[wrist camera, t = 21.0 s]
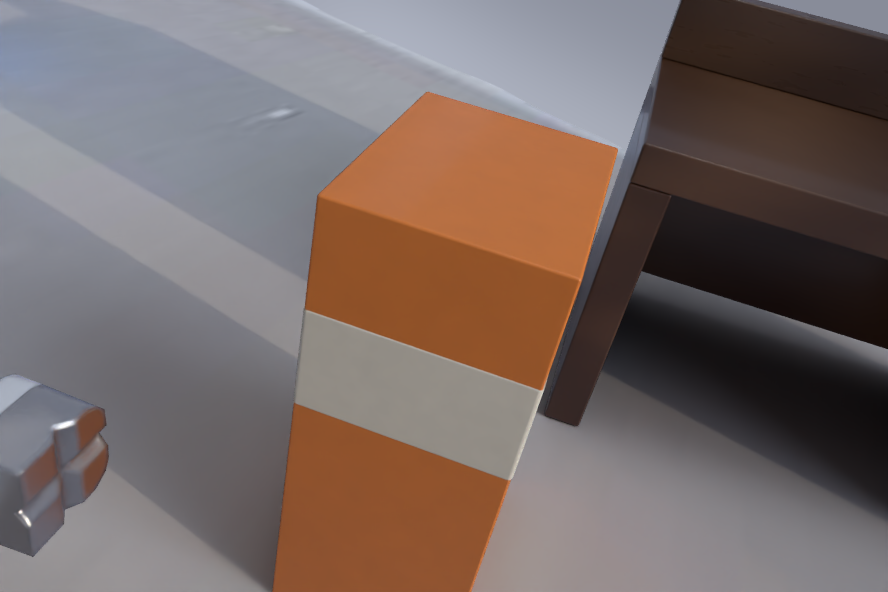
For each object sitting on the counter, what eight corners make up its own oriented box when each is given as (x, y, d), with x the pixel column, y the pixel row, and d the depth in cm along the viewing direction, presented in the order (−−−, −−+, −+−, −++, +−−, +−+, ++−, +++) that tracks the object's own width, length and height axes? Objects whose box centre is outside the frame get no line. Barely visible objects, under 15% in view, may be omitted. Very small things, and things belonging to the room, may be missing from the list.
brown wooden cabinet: (543, 415, 26) (677, 49, 19) (582, 273, 34) (686, -19, 27) (1006, 576, 24) (1345, 233, 17) (929, 384, 32) (1137, 100, 25)
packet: (269, 593, 19) (315, 194, 13) (361, 432, 24) (425, 89, 18) (446, 663, 18) (583, 281, 12) (502, 483, 23) (619, 147, 17)
